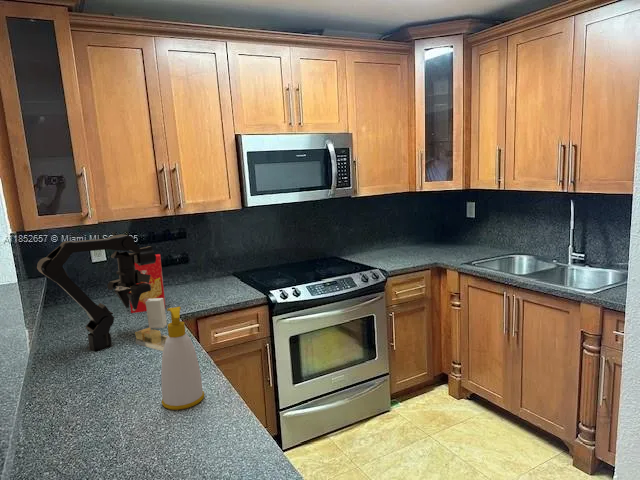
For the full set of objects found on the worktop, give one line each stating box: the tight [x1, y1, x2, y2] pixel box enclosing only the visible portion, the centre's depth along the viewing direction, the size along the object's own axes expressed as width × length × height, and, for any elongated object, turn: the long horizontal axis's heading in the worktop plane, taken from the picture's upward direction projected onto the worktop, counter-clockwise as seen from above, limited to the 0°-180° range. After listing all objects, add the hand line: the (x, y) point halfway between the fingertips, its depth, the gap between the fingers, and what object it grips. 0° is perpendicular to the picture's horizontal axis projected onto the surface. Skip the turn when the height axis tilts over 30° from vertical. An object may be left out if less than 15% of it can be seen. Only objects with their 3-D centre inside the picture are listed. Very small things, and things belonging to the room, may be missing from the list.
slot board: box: [135, 334, 168, 352], centre depth 160 cm, size 16×8×2 cm, turn 58°
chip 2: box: [144, 328, 161, 344], centre depth 161 cm, size 4×4×4 cm
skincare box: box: [146, 298, 168, 329], centre depth 178 cm, size 6×4×12 cm
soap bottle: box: [160, 306, 205, 411], centre depth 118 cm, size 11×12×26 cm
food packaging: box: [129, 253, 166, 314], centre depth 203 cm, size 15×5×25 cm, turn 109°
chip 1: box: [134, 327, 152, 341], centre depth 164 cm, size 4×4×4 cm
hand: (131, 308), depth 166 cm, fingers open, 4 cm apart
